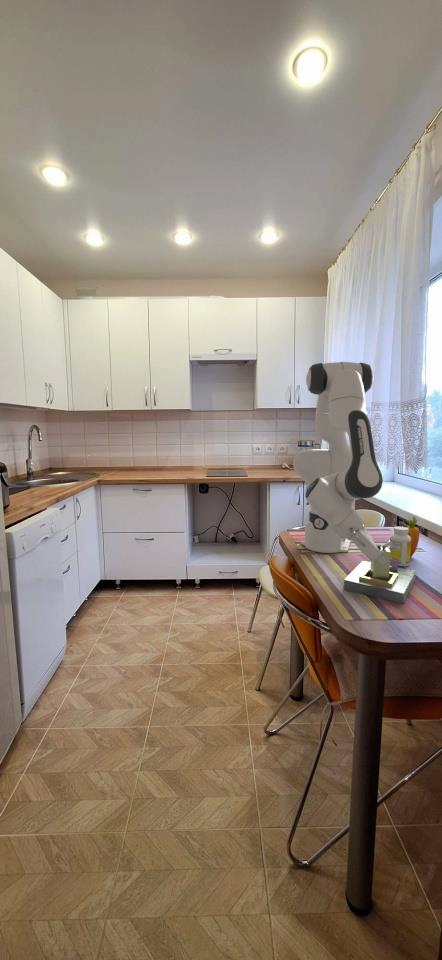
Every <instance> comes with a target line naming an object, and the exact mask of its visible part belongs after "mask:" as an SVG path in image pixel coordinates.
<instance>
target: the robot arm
mask: <svg viewBox="0 0 442 960" xmlns="http://www.w3.org/2000/svg"><path fill="white" fill-rule="evenodd" d="M305 382H306V387H307V390H308V391H309V392H310V393H311V394H313V395H317V396H318V397H317V400H316V408H315V421H314V433H315V435H316V436H317V437H318V438H319V439H321V440H322V441H324V442H327V444H328V448H326V449H325V448H324V449H322V448H321V449H320V448H319V449H316V448H315V449H314V448H313V449H304V450H300V451H298V452H297V453H296V455H294V458H293V462H292V467H293V470H294V473H296V475H297V476H298V477H300V478H301V479H302V480H303V481H304V483H306V486H307V489H306V491H305V499H306V502H307V503H308V504H309V506H310V511H309V514H308V521H309V522H307V523H306V524H305V527H304V530H305V531H304V539H302V540H301V541H300V544H301V545H302V546H304V547H305V548H306V549H307V550H310V551H313V552H315V553H316V552H317V553H326V554H332V553H334V554H335V553H347V552H349V549H350V548H351V547H350V546H351V544H352V543H353V544H354V546H356V548H358V549H359V550H360V552H361V553H362V554H363V555H364V556H365V557H366V558H367V559H368V560H369V562H371V561H373V560H375V559H376V560H377V561H379V563H380V564H382V565H384V564H385V563H386V562H387V561H386V559H385V558H384V557H383V556H382V555H381V552H380V550H379V549H378V547H377V546H376V545H377V544H376V543H375V542H376V541H374V539H373V538H372V535H371V534H370V533H369V531H368V530H367V528H366V525H365V524H364V523H365V518H364V517H363V516H362V515H361V514H360V513H359V512H358V511H357V509H355V507H353V506H352V504H353V502H354V501H358V500H361V499H362V500H363V499H369V498H372V497H375V496H376V495H377V494H379V492H380V490H381V489H382V487H383V483H384V479H383V474H382V471H381V469H380V467H379V465H378V462H377V458H376V452H375V446H374V440H373V431H372V426H371V422H370V418H369V416H368V415H367V410H366V409H367V408H366V396H365V395H366V393H368V392H369V391H370V389H372V386H373V382H374V370H373V367H372V366H371V365H370V364H368V363H366V362H362V361H361V362H359V363H358V362H353V361H340V362H325V363H322V362H319V363H314V364H312V365H311V366H310V367H309V369H308V371H307V373H306V377H305ZM346 433H347V434H346ZM347 435H348V438H347ZM348 440H349V441H348Z"/></svg>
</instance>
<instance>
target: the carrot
mask: <svg viewBox="0 0 442 960" xmlns="http://www.w3.org/2000/svg"><path fill="white" fill-rule="evenodd" d="M405 521H406V522H407V524H408V526H406V528H408V529H409V532H408V535H409V536H410V537H411V550H410V558H412V557H413V556H414V554H415V552H416V551H417V548H418V546H419V545H418V544H419V541H420V534H421V533H420V532H421V531H420V529H419V528H418V527H416V523H417V522H418V520H417V517H416V516H412V518H411V519H407V518H406V519H405Z"/></svg>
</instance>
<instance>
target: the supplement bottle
mask: <svg viewBox="0 0 442 960" xmlns="http://www.w3.org/2000/svg"><path fill="white" fill-rule="evenodd" d="M406 527H407V526H406ZM406 527H405V526H394V527H393V534H391V535H390V536H389V541H391V542H392V544H391V545H389V550H390V562H392V563H395V564H397V565H398V567H408V566H409V565H410V563H411V557H410V550H411V537H410V536H409V535H408V532H409V529H408V528H406Z"/></svg>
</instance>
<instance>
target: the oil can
mask: <svg viewBox="0 0 442 960" xmlns="http://www.w3.org/2000/svg"><path fill="white" fill-rule="evenodd" d="M391 544H392V542H391V541H390V540H389V541H387V542H386V543H385V544H383V545H381V544H376V546H377V547H378V549H379V550H380V552H381V555H382V556H383V557H384V558H385V559H386V561H387V562H386V563H385V564H384V565H382V564H380V563H379V561H377V560H376V559H375V560H373V561H370V562H371V567H370V576H371V578H374V579H379V580H383V581H388V582H389V569H390V548H389V547H390V545H391Z"/></svg>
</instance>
